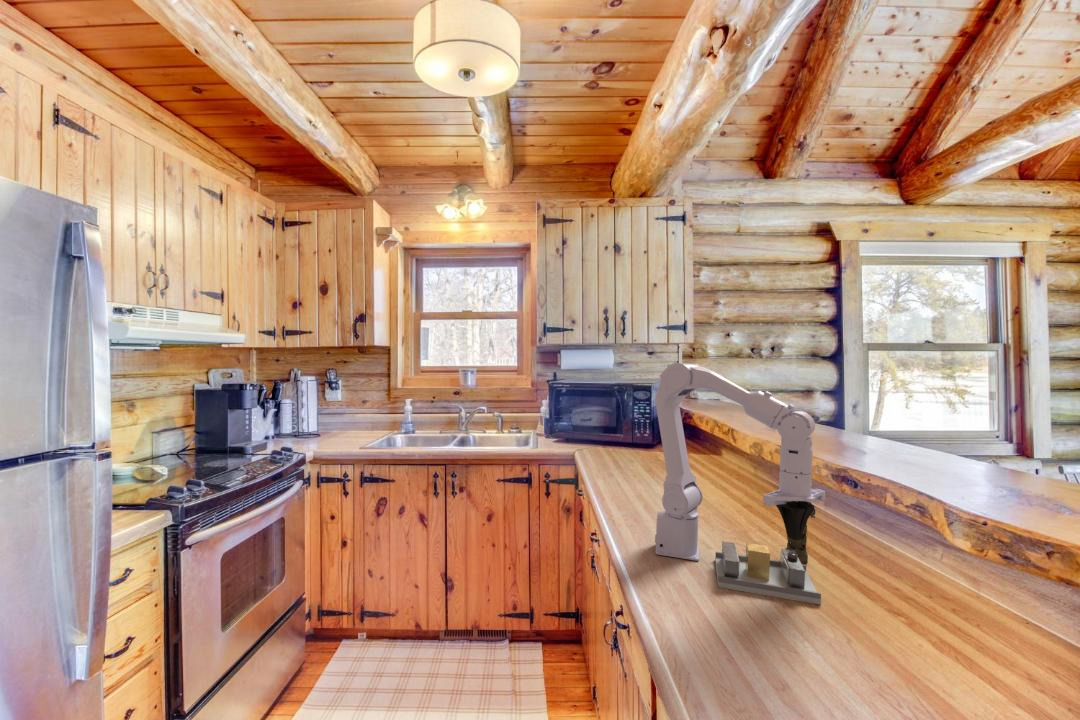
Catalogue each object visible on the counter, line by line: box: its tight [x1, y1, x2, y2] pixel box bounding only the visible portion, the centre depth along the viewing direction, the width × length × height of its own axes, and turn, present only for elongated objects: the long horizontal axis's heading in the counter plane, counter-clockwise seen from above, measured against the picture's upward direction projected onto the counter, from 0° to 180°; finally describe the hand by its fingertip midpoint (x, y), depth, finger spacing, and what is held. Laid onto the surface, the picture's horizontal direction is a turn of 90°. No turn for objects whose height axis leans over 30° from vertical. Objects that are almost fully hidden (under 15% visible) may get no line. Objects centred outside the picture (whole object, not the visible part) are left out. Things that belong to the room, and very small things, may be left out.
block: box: [745, 542, 771, 581], centre depth 97 cm, size 4×4×6 cm
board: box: [714, 551, 822, 606], centre depth 97 cm, size 18×13×2 cm
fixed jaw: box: [721, 541, 739, 579], centre depth 99 cm, size 3×10×4 cm, turn 162°
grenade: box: [784, 502, 816, 564], centre depth 108 cm, size 9×6×15 cm, turn 154°
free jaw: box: [779, 548, 805, 590], centre depth 95 cm, size 3×10×5 cm, turn 162°
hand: (793, 538), depth 95 cm, fingers closed
